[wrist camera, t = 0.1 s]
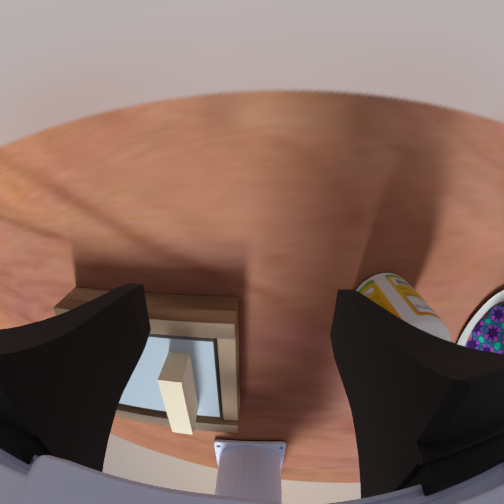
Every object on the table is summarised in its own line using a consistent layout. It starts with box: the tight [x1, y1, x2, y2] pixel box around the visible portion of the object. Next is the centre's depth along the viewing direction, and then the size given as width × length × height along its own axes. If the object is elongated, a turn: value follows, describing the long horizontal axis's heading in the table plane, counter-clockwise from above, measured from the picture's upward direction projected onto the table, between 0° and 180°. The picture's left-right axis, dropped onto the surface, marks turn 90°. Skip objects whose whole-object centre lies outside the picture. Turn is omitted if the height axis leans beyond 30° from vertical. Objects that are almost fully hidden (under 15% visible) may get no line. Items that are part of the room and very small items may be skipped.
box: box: [54, 287, 240, 433], centre depth 22 cm, size 12×14×4 cm
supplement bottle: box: [356, 273, 451, 342], centre depth 17 cm, size 5×5×10 cm
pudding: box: [457, 290, 504, 354], centre depth 21 cm, size 12×12×5 cm
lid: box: [119, 334, 221, 435], centre depth 20 cm, size 8×12×4 cm
